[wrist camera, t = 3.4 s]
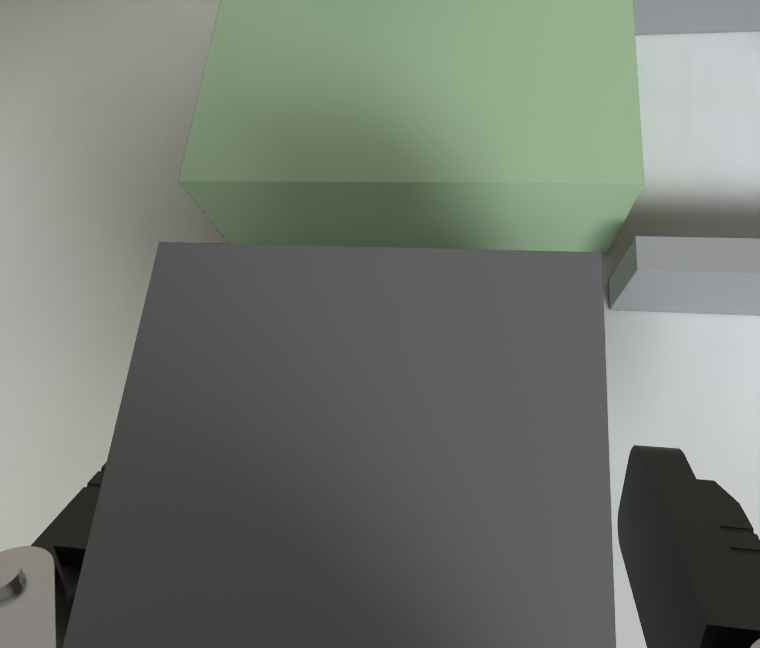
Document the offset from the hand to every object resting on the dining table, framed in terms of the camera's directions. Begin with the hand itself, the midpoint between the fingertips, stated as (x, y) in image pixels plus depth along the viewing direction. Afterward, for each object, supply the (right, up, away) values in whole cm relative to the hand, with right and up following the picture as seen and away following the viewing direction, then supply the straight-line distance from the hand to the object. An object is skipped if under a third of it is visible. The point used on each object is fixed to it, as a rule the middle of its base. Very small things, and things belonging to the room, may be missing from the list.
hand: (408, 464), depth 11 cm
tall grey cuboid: (+1, -3, +6) cm, 6 cm away
